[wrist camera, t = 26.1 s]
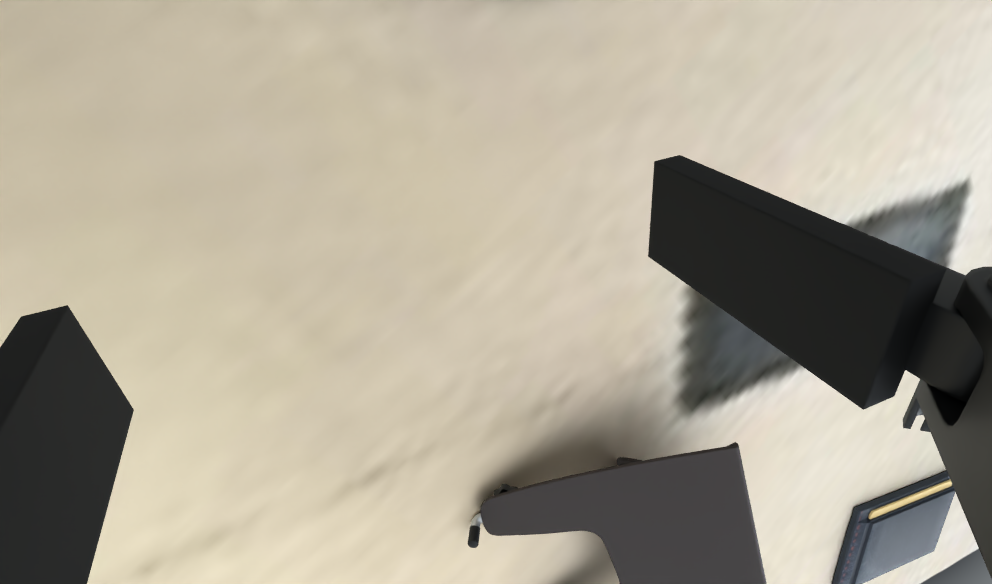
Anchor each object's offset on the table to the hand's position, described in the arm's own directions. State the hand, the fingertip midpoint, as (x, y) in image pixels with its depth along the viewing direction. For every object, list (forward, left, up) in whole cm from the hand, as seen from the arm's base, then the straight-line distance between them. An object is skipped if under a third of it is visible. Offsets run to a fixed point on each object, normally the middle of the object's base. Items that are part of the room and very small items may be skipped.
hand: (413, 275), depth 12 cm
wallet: (+88, +9, -24) cm, 92 cm away
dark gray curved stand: (+39, -12, -24) cm, 48 cm away
